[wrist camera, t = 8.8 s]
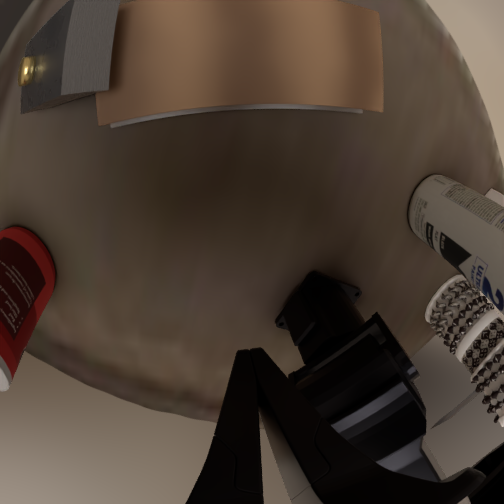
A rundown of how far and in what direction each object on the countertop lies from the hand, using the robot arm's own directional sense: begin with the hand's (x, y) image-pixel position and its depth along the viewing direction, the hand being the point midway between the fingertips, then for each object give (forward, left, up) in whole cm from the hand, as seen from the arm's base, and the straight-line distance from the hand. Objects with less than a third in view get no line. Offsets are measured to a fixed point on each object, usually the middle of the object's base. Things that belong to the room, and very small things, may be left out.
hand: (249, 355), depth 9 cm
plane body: (+4, -11, -12) cm, 16 cm away
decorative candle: (-33, -2, -12) cm, 35 cm away
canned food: (+15, +10, -12) cm, 22 cm away
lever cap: (+13, -7, -9) cm, 17 cm away
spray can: (-17, -10, -12) cm, 23 cm away
